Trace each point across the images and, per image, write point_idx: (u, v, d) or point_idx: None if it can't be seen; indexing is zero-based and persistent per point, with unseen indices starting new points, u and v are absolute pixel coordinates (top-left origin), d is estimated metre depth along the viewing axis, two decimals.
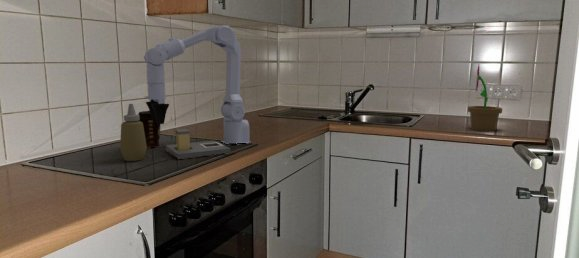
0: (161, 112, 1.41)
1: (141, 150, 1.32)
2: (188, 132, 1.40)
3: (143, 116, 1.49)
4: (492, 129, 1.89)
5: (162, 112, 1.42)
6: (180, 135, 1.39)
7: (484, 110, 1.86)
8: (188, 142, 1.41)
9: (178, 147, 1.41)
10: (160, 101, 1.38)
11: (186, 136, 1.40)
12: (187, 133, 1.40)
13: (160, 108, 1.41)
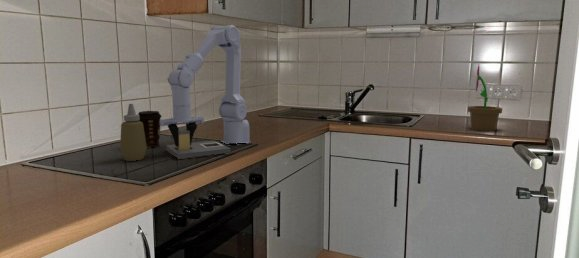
0: None
1: (141, 150, 1.32)
2: (188, 132, 1.40)
3: (143, 116, 1.49)
4: (492, 129, 1.89)
5: None
6: (180, 135, 1.39)
7: (484, 110, 1.86)
8: (188, 142, 1.41)
9: (178, 147, 1.41)
10: (160, 123, 1.38)
11: (186, 136, 1.40)
12: (187, 133, 1.40)
13: None
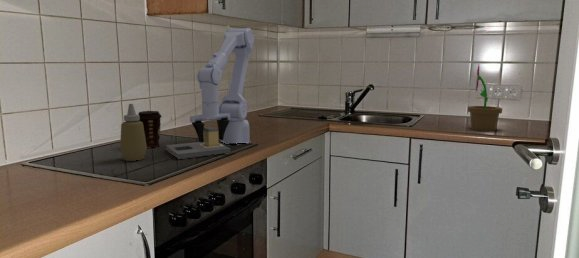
0: None
1: (141, 150, 1.32)
2: (217, 129, 1.46)
3: (143, 116, 1.49)
4: (492, 129, 1.89)
5: None
6: (210, 132, 1.44)
7: (484, 110, 1.86)
8: (217, 139, 1.46)
9: (207, 144, 1.46)
10: (190, 119, 1.42)
11: (215, 134, 1.46)
12: (216, 130, 1.45)
13: None
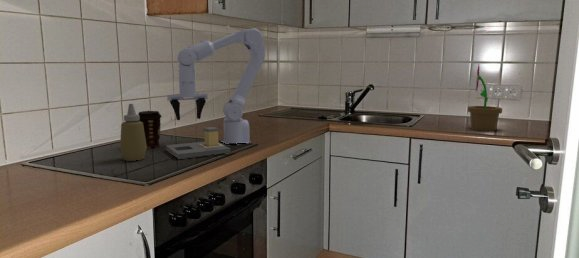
0: None
1: (141, 150, 1.32)
2: (217, 129, 1.46)
3: (143, 116, 1.49)
4: (492, 129, 1.89)
5: None
6: (210, 132, 1.44)
7: (484, 110, 1.86)
8: (217, 139, 1.46)
9: (207, 144, 1.46)
10: (167, 98, 1.50)
11: (215, 134, 1.46)
12: (216, 130, 1.45)
13: None
